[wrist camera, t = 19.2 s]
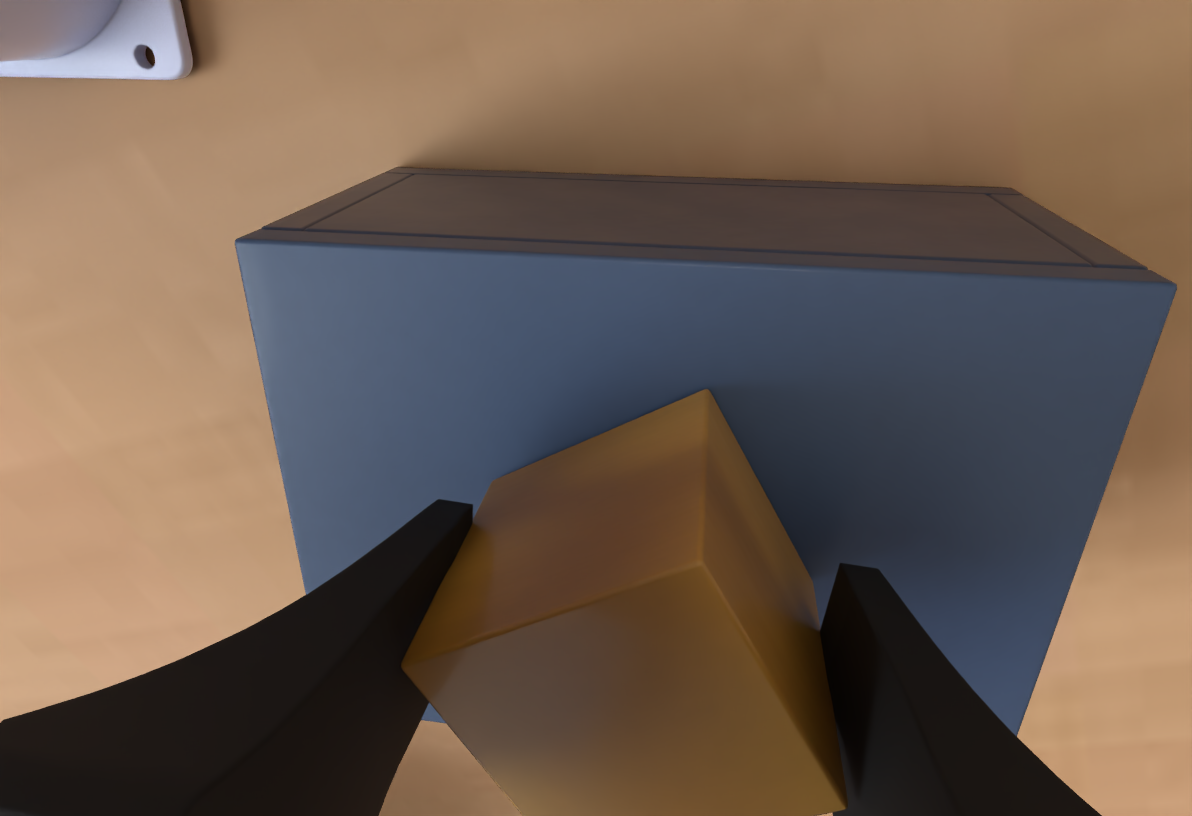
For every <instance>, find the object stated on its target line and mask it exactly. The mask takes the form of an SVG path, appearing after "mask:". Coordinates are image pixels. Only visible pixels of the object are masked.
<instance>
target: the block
mask: <svg viewBox="0 0 1192 816" xmlns="http://www.w3.org/2000/svg"><path fill="white" fill-rule="evenodd" d="M401 669H402V670H403V671H404V672H405V674H406V675H407V676H408V677H409V679H410V680H411V681H412V682H413V683H414V685H415V686H416V687H417V688H418V689H419V691H420V692H421V693H422V694H423V695H424V697H425V698H426V699H427V700H428V702H429V703H430V704H431V705H432V706H433V708H434V709H435V710H436V711H437V712H438V714H439V715H440V716H441V717H442V719H443V720H444V721H445V722H446V723H447V725H448V726H449V727H450V728H451V729H452V731H453V732H454V733H455V734H456V735H457V737H458V738H459V739H460V740H461V742H462V743H463V744H464V745H465V746H466V748H467V749H468V750H469V751H470V752H471V754H472V755H473V756H474V757H475V759H476V760H477V761H478V762H479V763H480V765H481V766H482V767H483V768H484V769H485V771H486V772H487V773H488V774H489V775H490V777H491V778H492V779H493V780H494V782H495V783H496V784H497V785H498V786H499V788H500V789H501V790H502V791H503V792H504V794H505V795H506V796H507V797H508V798H509V800H510V801H511V802H512V803H513V805H514V806H515V807H516V808H517V809H518V811H519V812H520V813H521V814H522V815H523V816H817V815H822V814H827V813H832V812H836V811H841V810H845V809H847V808H848V798H847V792H846V785H845V779H844V773H843V767H842V760H841V754H840V748H839V742H838V735H837V729H836V723H835V717H834V711H833V704H832V699H831V694H830V690H829V685H828V680H827V675H826V668H825V662H824V656H823V649H822V643H821V637H820V623H819V617H818V611H817V605H816V598H815V592H814V586H813V581H812V579H811V577H810V575H809V573H808V572H807V570H806V568H805V566H804V564H803V562H802V560H801V559H800V557H799V555H798V553H797V551H796V549H795V547H794V546H793V544H792V542H791V540H790V538H789V536H788V535H787V533H786V531H785V529H784V527H783V525H782V523H781V522H780V520H779V518H778V516H777V514H776V512H775V510H774V509H773V507H772V505H771V503H770V501H769V499H768V497H767V496H766V494H765V492H764V490H763V488H762V486H761V484H760V483H759V481H758V479H757V477H756V475H755V473H754V472H753V470H752V468H751V466H750V464H749V462H748V460H747V459H746V457H745V455H744V453H743V451H742V449H741V447H740V446H739V444H738V442H737V440H736V438H735V436H734V434H733V433H732V431H731V429H730V427H729V425H728V423H727V421H726V420H725V418H724V416H723V414H722V412H721V410H720V408H719V407H718V405H717V403H716V401H715V399H714V397H713V396H712V394H711V392H710V391H709V390H708V389H704V390H702V391H699V392H697V393H695V394H693V395H690V396H688V397H686V398H683V399H681V400H679V401H676V402H674V403H672V404H669V405H667V406H665V407H662V408H660V409H658V410H655V411H653V412H651V413H648V414H646V415H644V416H641V417H639V418H637V419H634V420H632V421H630V422H628V423H625V424H623V425H621V426H618V427H616V428H614V429H611V430H609V431H607V432H604V433H602V434H600V435H597V436H595V437H593V438H590V439H588V440H586V441H583V442H581V443H579V444H576V445H574V446H572V447H569V448H567V449H565V450H563V451H560V452H558V453H556V454H553V455H551V456H549V457H546V458H544V459H542V460H539V461H537V462H535V463H532V464H530V465H528V466H525V467H523V468H521V469H518V470H516V471H514V472H511V473H509V474H507V475H505V476H502V477H500V478H498V479H495V480H493V481H492V482H491V484H490V486H489V488H488V490H487V492H486V494H485V496H484V498H483V500H482V502H481V504H480V506H479V508H478V510H477V512H476V514H475V516H474V518H473V524H472V526H471V528H470V530H469V532H468V534H467V536H466V538H465V540H464V542H463V544H462V546H461V548H460V550H459V552H458V554H457V556H456V558H455V560H454V562H453V563H452V565H451V567H450V568H449V570H448V572H447V573H446V575H445V577H444V579H443V581H442V582H441V584H440V586H439V588H438V590H437V592H436V594H435V596H434V598H433V600H432V602H431V604H430V606H429V608H428V610H427V612H426V614H425V616H424V618H423V620H422V622H421V624H420V626H419V628H418V630H417V632H416V634H415V636H414V638H413V640H412V642H411V644H410V646H409V648H408V650H407V652H406V654H405V656H404V658H403V660H402V662H401Z"/></svg>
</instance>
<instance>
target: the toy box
mask: <svg viewBox="0 0 1192 816" xmlns="http://www.w3.org/2000/svg"><path fill="white" fill-rule="evenodd" d="M262 229H264V230H286V231H307V232H329V233H351V234H373V235H395V236H417V237H439V238H461V239H483V240H504V241H526V242H548V243H570V244H592V245H614V246H636V247H658V248H680V249H701V250H723V251H745V252H767V253H789V254H811V255H833V256H855V257H877V258H898V259H920V260H942V261H964V262H986V263H1008V264H1030V265H1052V266H1074V267H1095V268H1117V269H1139V270H1148V269H1147V267H1146V266H1144V265H1142V264H1140V263H1139V262H1137V261H1135V260H1134V259H1132V258H1130V257H1128V256H1127V255H1125V254H1123V253H1122V252H1120V251H1118V250H1116V249H1115V248H1113V247H1111V246H1109V245H1108V244H1106V243H1104V242H1103V241H1101V240H1099V239H1097V238H1096V237H1094V236H1092V235H1091V234H1089V233H1087V232H1085V231H1084V230H1082V229H1080V228H1079V227H1077V226H1075V225H1073V224H1072V223H1070V222H1068V221H1066V220H1065V219H1063V218H1061V217H1060V216H1058V215H1056V214H1054V213H1053V212H1051V211H1049V210H1048V209H1046V208H1044V207H1042V206H1041V205H1039V204H1037V203H1036V202H1034V201H1032V200H1030V199H1029V198H1027V197H1025V196H1023V194H1021V193H1019V192H1017V191H1016V190H1014V189H1012V188H995V187H965V186H936V185H906V184H876V183H846V182H817V181H787V180H757V179H727V178H698V177H668V176H638V175H608V174H579V173H549V172H519V171H489V170H460V169H430V168H400V167H396V168H394V169H391V170H389V171H387V172H385V173H382V174H380V175H378V176H376V177H373V178H371V179H369V180H367V181H364V182H362V183H360V184H358V185H355V186H353V187H351V188H349V189H347V190H344V191H342V192H340V193H338V194H335V195H333V196H331V197H329V198H326V199H324V200H322V201H320V202H317V203H315V204H313V205H311V206H308V207H306V208H304V209H302V210H300V211H297V212H295V213H293V214H291V215H288V216H286V217H284V218H282V219H279V220H277V221H275V222H273V223H270V224H268V225H266V226H264V227H262Z"/></svg>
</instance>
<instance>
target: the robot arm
mask: <svg viewBox="0 0 1192 816" xmlns="http://www.w3.org/2000/svg"><path fill="white" fill-rule="evenodd" d="M147 47H149V48H150V49H151V50H152V51H153V54H154V56H155V64H154V66H152V65H151V64H150V63H149V62H148V60H147V58H146V51H145V50H146V48H147ZM192 66H193V59H192V53H191V48H190V43H189V39H188V34H187V29H186V25H185V20H184V15H183V10H182V6H181V1H180V0H0V77H40V78H93V79H145V80H175V79H181V78H185V77H186V76H187V75H188V74H190V72H191V69H192ZM472 524H473V504H468V503H462V502H456V501H449V500H443V499H437V500H436V501H435V502H433V503H432V504H431V505H429V506H428V507H427V508H425V509H424V510H423V511H421V512H420V513H419V514H417V515H416V516H415V517H414V518H412V519H411V520H410V521H408V522H407V523H406V524H405V525H403V526H402V527H401V528H400V529H398V530H397V531H396V532H394V533H393V534H392V535H390V536H389V537H388V538H387V539H385V540H384V541H383V542H381V543H380V544H379V545H377V546H376V547H375V548H373V549H372V550H370V551H369V552H368V553H366V554H365V555H364V556H362V557H361V558H360V559H358V560H357V561H356V562H354V563H353V564H351V565H350V566H349V567H347V568H346V569H344V570H343V571H341V572H340V573H338V574H337V575H335V576H334V577H332V578H331V579H329V580H328V581H326V582H325V583H323V584H322V585H320V586H319V587H317V588H316V589H314V590H313V591H311V592H310V593H308V594H307V595H305V596H303V597H302V598H300V599H299V600H297V601H295V602H293V603H292V604H290V605H288V606H287V607H285V608H283V609H282V610H280V611H278V612H276V613H274V614H272V615H271V616H269V617H267V618H265V619H263V620H261V621H260V622H258V623H256V624H254V625H252V626H250V627H248V628H246V629H244V630H242V631H240V632H238V633H236V634H234V635H232V636H230V637H228V638H225V639H223V640H221V641H219V642H217V643H215V644H213V645H210V646H208V647H206V648H204V649H202V650H200V651H197V652H195V653H193V654H191V655H189V656H187V657H185V658H182V659H180V660H177V661H175V662H173V663H170V664H168V665H165V666H163V667H160V668H158V669H155V670H153V671H150V672H148V673H145V674H143V675H140V676H137V677H135V678H132V679H129V680H127V681H124V682H121V683H118V684H116V685H113V686H110V687H107V688H105V689H102V690H99V691H96V692H93V693H90V694H87V695H84V696H81V697H77V698H74V699H71V700H68V701H64V702H61V703H58V704H55V705H52V706H48V707H45V708H42V709H39V710H35V711H32V712H29V713H26V714H23V715H19V716H15V717H12V718H8V719H5V720H3V721H2V722H1V723H0V816H379V813H380V810H381V808H382V805H383V802H384V799H385V797H386V794H387V791H388V789H389V787H390V785H391V782H392V780H393V778H394V775H395V773H396V771H397V768H398V766H399V764H400V762H401V760H402V758H403V756H404V754H405V752H406V750H407V747H408V745H409V743H410V741H411V739H412V737H413V735H414V733H415V731H416V729H417V727H418V725H419V723H420V721H421V719H422V717H423V714H424V712H425V710H426V708H427V706H428V704H429V702H428V700H427V699H426V698H425V697H424V695H423V694H422V693H421V692H420V691H419V689H418V688H417V687H416V686H415V685H414V683H413V682H412V681H411V680H410V679H409V677H408V676H407V675H406V674H405V672H404V671H403V670H402V669H401V662H402V660H403V658H404V656H405V654H406V652H407V650H408V648H409V646H410V644H411V642H412V640H413V638H414V636H415V634H416V632H417V630H418V628H419V626H420V624H421V622H422V620H423V618H424V616H425V614H426V612H427V610H428V608H429V606H430V604H431V602H432V600H433V598H434V596H435V594H436V592H437V590H438V588H439V586H440V584H441V582H442V581H443V579H444V577H445V575H446V573H447V572H448V570H449V568H450V567H451V565H452V563H453V562H454V560H455V558H456V556H457V554H458V552H459V550H460V548H461V546H462V544H463V542H464V540H465V538H466V536H467V534H468V532H469V530H470V528H471V526H472ZM820 637H821V643H822V649H823V656H824V662H825V668H826V675H827V680H828V685H829V690H830V694H831V699H832V704H833V711H834V717H835V723H836V729H837V735H838V742H839V748H840V754H841V760H842V767H843V773H844V779H845V785H846V792H847V798H848V808H847V809H845V810H841V811H836V812H833V816H1102V815H1100V814H1099V813H1098V812H1097V811H1096V810H1095V809H1093V808H1092V807H1091V806H1090V805H1089V804H1088V803H1086V802H1085V801H1084V800H1083V799H1082V798H1081V797H1079V796H1078V795H1077V794H1076V793H1075V792H1074V791H1073V790H1072V789H1071V788H1069V787H1068V786H1067V785H1066V784H1065V783H1064V782H1063V781H1062V780H1061V779H1060V778H1058V777H1057V776H1056V775H1055V774H1054V773H1053V772H1052V771H1051V770H1050V769H1049V768H1048V767H1047V766H1046V765H1045V764H1044V763H1043V762H1042V761H1041V760H1040V759H1039V758H1038V757H1037V756H1036V755H1035V754H1034V753H1033V752H1032V751H1031V750H1030V749H1029V748H1028V747H1027V746H1025V745H1024V744H1023V743H1022V742H1021V741H1020V740H1019V739H1018V738H1017V737H1016V736H1015V734H1014V733H1013V732H1012V731H1011V730H1010V729H1009V728H1008V727H1007V726H1006V725H1005V724H1004V723H1003V722H1002V721H1001V720H1000V719H999V718H998V717H997V715H996V714H995V713H994V712H993V711H992V710H991V709H990V708H989V707H988V705H987V704H986V703H985V702H984V701H983V700H982V699H981V698H980V697H979V695H978V694H977V693H976V692H975V691H974V690H973V689H972V688H971V686H970V685H969V684H968V683H967V682H966V681H965V679H964V678H963V677H962V676H961V675H960V673H959V672H958V671H957V670H956V669H955V668H954V666H953V665H952V664H951V663H950V661H949V660H948V659H947V658H946V657H945V655H944V654H943V653H942V652H941V650H940V649H939V648H938V647H937V645H936V644H935V643H934V641H933V640H932V639H931V638H930V636H929V635H928V634H927V632H926V631H925V630H924V629H923V627H922V626H921V625H920V623H919V622H918V621H917V619H916V618H915V617H914V615H913V614H912V613H911V611H910V610H909V609H908V607H907V606H906V605H905V603H904V602H903V601H902V599H901V598H900V597H899V595H898V594H897V593H896V591H895V590H894V589H893V587H892V586H891V585H890V583H889V582H888V581H887V579H886V578H885V577H884V575H883V574H882V573H881V571H880V570H879V569H877V568H871V567H865V566H858V565H852V564H846V563H840V564H839V568H838V571H837V574H836V578H835V581H834V584H833V588H832V591H831V595H830V598H829V601H828V605H827V608H826V612H825V615H824V618H823V622H822V625H821V629H820Z"/></svg>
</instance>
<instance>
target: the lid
mask: <svg viewBox="0 0 1192 816" xmlns="http://www.w3.org/2000/svg"><path fill="white" fill-rule="evenodd" d="M235 247H236V251H237V256H238V261H239V266H240V271H241V276H242V281H243V286H244V291H245V296H246V301H247V306H248V311H249V316H250V321H251V325H252V330H253V335H254V340H255V345H256V350H257V355H258V360H259V365H260V370H261V375H262V380H263V385H264V390H265V395H266V399H267V404H268V409H269V414H270V419H271V424H272V429H273V434H274V439H275V444H276V449H277V454H278V459H279V464H280V469H281V473H282V478H283V483H284V488H285V493H286V498H287V503H288V508H289V513H290V518H291V523H292V528H293V533H294V538H295V543H296V548H297V552H298V557H299V562H300V567H301V572H302V577H303V582H304V587H305V592H306V595H307V594H308V593H310V592H311V591H313V590H314V589H316V588H317V587H319V586H320V585H322V584H323V583H325V582H326V581H328V580H329V579H331V578H332V577H334V576H335V575H337V574H338V573H340V572H341V571H343V570H344V569H346V568H347V567H349V566H350V565H351V564H353V563H354V562H356V561H357V560H358V559H360V558H361V557H362V556H364V555H365V554H366V553H368V552H369V551H370V550H372V549H373V548H375V547H376V546H377V545H379V544H380V543H381V542H383V541H384V540H385V539H387V538H388V537H389V536H390V535H392V534H393V533H394V532H396V531H397V530H398V529H400V528H401V527H402V526H403V525H405V524H406V523H407V522H408V521H410V520H411V519H412V518H414V517H415V516H416V515H417V514H419V513H420V512H421V511H423V510H424V509H425V508H427V507H428V506H429V505H431V504H432V503H433V502H435V501H436V500H437V499H443V500H449V501H456V502H462V503H468V504H473V518H474V516H475V514H476V512H477V510H478V508H479V506H480V504H481V502H482V500H483V498H484V496H485V494H486V492H487V490H488V488H489V486H490V484H491V482H492V481H493V480H495V479H498V478H500V477H502V476H505V475H507V474H509V473H511V472H514V471H516V470H518V469H521V468H523V467H525V466H528V465H530V464H532V463H535V462H537V461H539V460H542V459H544V458H546V457H549V456H551V455H553V454H556V453H558V452H560V451H563V450H565V449H567V448H569V447H572V446H574V445H576V444H579V443H581V442H583V441H586V440H588V439H590V438H593V437H595V436H597V435H600V434H602V433H604V432H607V431H609V430H611V429H614V428H616V427H618V426H621V425H623V424H625V423H628V422H630V421H632V420H634V419H637V418H639V417H641V416H644V415H646V414H648V413H651V412H653V411H655V410H658V409H660V408H662V407H665V406H667V405H669V404H672V403H674V402H676V401H679V400H681V399H683V398H686V397H688V396H690V395H693V394H695V393H697V392H699V391H702V390H704V389H708V390H709V391H710V392H711V394H712V396H713V397H714V399H715V401H716V403H717V405H718V407H719V408H720V410H721V412H722V414H723V416H724V418H725V420H726V421H727V423H728V425H729V427H730V429H731V431H732V433H733V434H734V436H735V438H736V440H737V442H738V444H739V446H740V447H741V449H742V451H743V453H744V455H745V457H746V459H747V460H748V462H749V464H750V466H751V468H752V470H753V472H754V473H755V475H756V477H757V479H758V481H759V483H760V484H761V486H762V488H763V490H764V492H765V494H766V496H767V497H768V499H769V501H770V503H771V505H772V507H773V509H774V510H775V512H776V514H777V516H778V518H779V520H780V522H781V523H782V525H783V527H784V529H785V531H786V533H787V535H788V536H789V538H790V540H791V542H792V544H793V546H794V547H795V549H796V551H797V553H798V555H799V557H800V559H801V560H802V562H803V564H804V566H805V568H806V570H807V572H808V573H809V575H810V577H811V579H812V581H813V586H814V592H815V598H816V605H817V611H818V617H819V623H820V629H821V625H822V622H823V618H824V615H825V612H826V608H827V605H828V601H829V598H830V595H831V591H832V588H833V584H834V581H835V578H836V574H837V571H838V568H839V564H840V563H846V564H852V565H858V566H865V567H871V568H877V569H879V570H880V571H881V573H882V574H883V575H884V577H885V578H886V579H887V581H888V582H889V583H890V585H891V586H892V587H893V589H894V590H895V591H896V593H897V594H898V595H899V597H900V598H901V599H902V601H903V602H904V603H905V605H906V606H907V607H908V609H909V610H910V611H911V613H912V614H913V615H914V617H915V618H916V619H917V621H918V622H919V623H920V625H921V626H922V627H923V629H924V630H925V631H926V632H927V634H928V635H929V636H930V638H931V639H932V640H933V641H934V643H935V644H936V645H937V647H938V648H939V649H940V650H941V652H942V653H943V654H944V655H945V657H946V658H947V659H948V660H949V661H950V663H951V664H952V665H953V666H954V668H955V669H956V670H957V671H958V672H959V673H960V675H961V676H962V677H963V678H964V679H965V681H966V682H967V683H968V684H969V685H970V686H971V688H972V689H973V690H974V691H975V692H976V693H977V694H978V695H979V697H980V698H981V699H982V700H983V701H984V702H985V703H986V704H987V705H988V707H989V708H990V709H991V710H992V711H993V712H994V713H995V714H996V715H997V717H998V718H999V719H1000V720H1001V721H1002V722H1003V723H1004V724H1005V725H1006V726H1007V727H1008V728H1009V729H1010V730H1011V731H1012V732H1013V733H1014V734H1015V736H1016V737H1017V734H1018V731H1019V729H1020V726H1021V723H1022V720H1023V717H1024V715H1025V712H1026V709H1027V706H1028V704H1029V701H1030V698H1031V695H1032V692H1033V690H1034V687H1035V684H1036V681H1037V678H1038V676H1039V673H1040V670H1041V667H1042V664H1043V662H1044V659H1045V656H1046V653H1047V650H1048V648H1049V645H1050V642H1051V639H1052V636H1053V634H1054V631H1055V628H1056V625H1057V623H1058V620H1059V617H1060V614H1061V611H1062V609H1063V606H1064V603H1065V600H1066V597H1067V595H1068V592H1069V589H1070V586H1071V583H1072V581H1073V578H1074V575H1075V572H1076V569H1077V567H1078V564H1079V561H1080V558H1081V556H1082V553H1083V550H1084V547H1085V544H1086V542H1087V539H1088V536H1089V533H1090V530H1091V528H1092V525H1093V522H1094V519H1095V516H1096V514H1097V511H1098V508H1099V505H1100V502H1101V500H1102V497H1103V494H1104V491H1105V488H1106V486H1107V483H1108V480H1109V477H1110V475H1111V472H1112V469H1113V466H1114V463H1115V461H1116V458H1117V455H1118V452H1119V449H1120V447H1121V444H1122V441H1123V438H1124V435H1125V433H1126V430H1127V427H1128V424H1129V421H1130V419H1131V416H1132V413H1133V410H1134V408H1135V405H1136V402H1137V399H1138V396H1139V394H1140V391H1141V388H1142V385H1143V382H1144V380H1145V377H1146V374H1147V371H1148V368H1149V366H1150V363H1151V360H1152V357H1153V354H1154V352H1155V349H1156V346H1157V343H1158V340H1159V338H1160V335H1161V332H1162V329H1163V327H1164V324H1165V321H1166V318H1167V315H1168V313H1169V310H1170V307H1171V304H1172V301H1173V299H1174V296H1175V293H1176V290H1177V285H1176V284H1175V283H1173V282H1172V281H1170V280H1168V279H1166V278H1164V277H1163V276H1161V275H1159V274H1157V273H1155V272H1153V271H1151V270H1139V269H1117V268H1095V267H1074V266H1052V265H1030V264H1008V263H986V262H964V261H942V260H920V259H898V258H877V257H855V256H833V255H811V254H789V253H767V252H745V251H723V250H701V249H680V248H658V247H636V246H614V245H592V244H570V243H548V242H526V241H504V240H483V239H461V238H439V237H417V236H395V235H373V234H351V233H329V232H307V231H286V230H264V229H259V230H257V231H254V232H252V233H250V234H247V235H245V236H242V237H240V238H238V239H236V240H235ZM421 720H425V721H433V722H440V723H446V722H445V721H444V720H443V719H442V717H441V716H440V715H439V714H438V712H437V711H436V710H435V709H434V708H433V706H432V705H431V704H430V703H429V704H428V706H427V708H426V710H425V712H424V714H423V717H422V719H421Z"/></svg>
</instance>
